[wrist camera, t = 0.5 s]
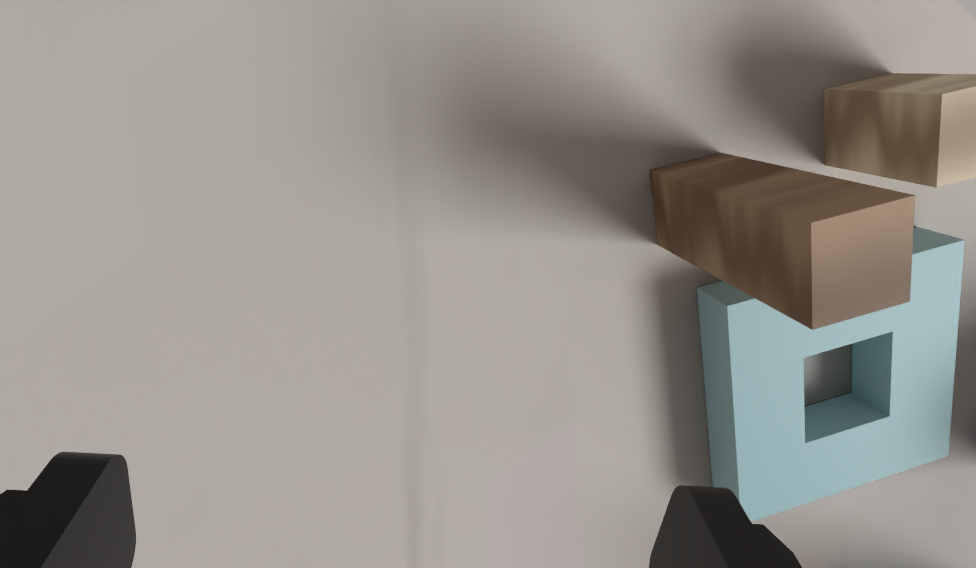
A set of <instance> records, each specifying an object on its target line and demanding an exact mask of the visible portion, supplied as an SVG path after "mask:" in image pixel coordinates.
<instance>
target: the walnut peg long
mask: <svg viewBox="0 0 976 568" xmlns="http://www.w3.org/2000/svg"><path fill="white" fill-rule="evenodd" d="M650 176H651V186H652V196H653V205H654V215H655V225H656V235H657V245H659V246H661V247H663V248H664V249H666V250H668V251H670V252H672V253H673V254H675V255H677V256H679V257H681V258H683V259H684V260H686V261H688V262H690V263H692V264H693V265H695V266H697V267H699V268H701V269H703V270H704V271H706V272H708V273H710V274H712V275H713V276H715V277H717V278H719V279H721V280H723V281H724V282H726V283H728V284H730V285H732V286H733V287H735V288H737V289H739V290H741V291H743V292H744V293H746V294H748V295H750V296H752V297H753V298H755V299H757V300H759V301H761V302H762V303H764V304H766V305H768V306H770V307H772V308H773V309H775V310H777V311H779V312H781V313H782V314H784V315H786V316H788V317H790V318H792V319H793V320H795V321H797V322H799V323H801V324H802V325H804V326H806V327H808V328H810V329H812V330H814V329H818V328H821V327H825V326H828V325H831V324H835V323H838V322H842V321H845V320H849V319H852V318H855V317H859V316H862V315H866V314H869V313H873V312H876V311H879V310H883V309H886V308H890V307H893V306H897V305H900V304H904V303H907V302H910V292H911V271H912V249H913V227H914V205H915V195H911V194H906V193H902V192H897V191H893V190H888V189H884V188H879V187H874V186H870V185H865V184H861V183H856V182H852V181H847V180H843V179H838V178H834V177H829V176H824V175H820V174H815V173H811V172H806V171H802V170H797V169H793V168H788V167H783V166H779V165H774V164H770V163H765V162H761V161H756V160H752V159H747V158H742V157H738V156H733V155H729V154H724V153H720V154H715V155H711V156H707V157H703V158H699V159H695V160H691V161H687V162H682V163H678V164H674V165H670V166H666V167H662V168H658V169H654V170H650Z"/></svg>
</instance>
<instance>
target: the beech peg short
mask: <svg viewBox="0 0 976 568" xmlns="http://www.w3.org/2000/svg"><path fill="white" fill-rule="evenodd" d="M825 165H827V166H832V167H837V168H842V169H847V170H852V171H857V172H862V173H867V174H872V175H877V176H882V177H887V178H892V179H897V180H902V181H906V182H911V183H916V184H921V185H926V186H931V187H936V188H937V187H940V186H944V185H948V184H952V183H956V182H959V181H963V180H967V179H971V178H975V177H976V74H900V73H892V74H887V75H883V76H879V77H874V78H870V79H866V80H862V81H857V82H853V83H849V84H844V85H840V86H836V87H831V88H827V89H825Z"/></svg>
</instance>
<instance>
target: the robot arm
mask: <svg viewBox="0 0 976 568" xmlns="http://www.w3.org/2000/svg"><path fill="white" fill-rule="evenodd" d="M135 545H136V531H135V523H134V515H133V507H132V499H131V492H130V484H129V476H128V468H127V463H126V460H125V458H124V457H123V456H122V455H115V454H96V453H77V452H60V453H58V454H57V455H55V456H54V457H53V458H52V459H51V460H50V462H49V463H48V464H47V466H46V467H45V468H44V469H43V471H42V472H41V473H40V475H39V476H38V477H37V479H36V480H35V481H34V483H33V484H32V485H31V486H30V488H29V489H28V490H27V491H23V490H6V491H5V492H3V493H2V494H0V568H131V566H132V562H133V558H134V553H135ZM649 568H802V567H801V565H800V563H799V562H798V560H797V559H796V557H795V555H794V554H793V552H792V551H791V550H789V549H788V548H787V547H786V546H785V545H784V544H783V543H782V542H781V541H780V540H779V539H778V538H777V537H776V536H775V535H774V534H773V533H772V532H770V531H769V530H768V529H767V528H766V527H765V526H764V525H761V524H752V523H751V521H750V520H749V518H748V516H747V514H746V513H745V511H744V509H743V508H742V506H741V504H740V502H739V501H738V499H737V497H736V496H735V494H734V493H733V492H732V491H731V490H730V489H728V488H724V487H704V486H685V485H680V486H678V487H676V488H675V490H674V491H673V493H672V495H671V498H670V501H669V504H668V507H667V510H666V513H665V515H664V518H663V521H662V524H661V527H660V530H659V533H658V536H657V538H656V541H655V544H654V547H653V550H652V553H651V557H650V563H649Z"/></svg>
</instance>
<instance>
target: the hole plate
mask: <svg viewBox="0 0 976 568" xmlns="http://www.w3.org/2000/svg"><path fill="white" fill-rule="evenodd" d="M964 241H965V240H963V239H959V238H956V237H952V236H948V235H945V234H941V233H937V232H934V231H930V230H926V229H923V228H919V227H917V228H913V249H912V271H911V292H910V302H907V303H904V304H900V305H897V306H893V307H890V308H886V309H883V310H879V311H876V312H873V313H869V314H866V315H862V316H859V317H855V318H852V319H849V320H845V321H842V322H838V323H835V324H831V325H828V326H825V327H821V328H818V329H814V330H812V329H810V328H808V327H806V326H804V325H802V324H801V323H799V322H797V321H795V320H793V319H792V318H790V317H788V316H786V315H784V314H782V313H781V312H779V311H777V310H775V309H773V308H772V307H770V306H768V305H766V304H764V303H762V302H761V301H759V300H757V299H755V298H753V297H752V296H750V295H748V294H746V293H744V292H743V291H741V290H739V289H737V288H735V287H733V286H732V285H730V284H728V283H726V282H724V281H723V280H722V281H719V282H715V283H711V284H708V285H704V286H700V287H697V299H698V311H699V324H700V336H701V348H702V361H703V373H704V386H705V398H706V410H707V423H708V435H709V448H710V460H711V472H712V485H713V487H724V488H728V489H730V490H731V491H732V492H733V493H734V494H735V496H736V497H737V499H738V501H739V502H740V504H741V506H742V508H743V509H744V511H745V513H746V514H747V516H748V518H749V520H750V521H754V520H757V519H760V518H763V517H766V516H770V515H773V514H776V513H779V512H782V511H785V510H788V509H791V508H794V507H797V506H800V505H803V504H806V503H809V502H812V501H815V500H818V499H821V498H824V497H827V496H830V495H833V494H836V493H839V492H842V491H845V490H848V489H851V488H854V487H857V486H860V485H863V484H866V483H869V482H872V481H875V480H878V479H881V478H884V477H887V476H890V475H893V474H896V473H899V472H902V471H905V470H908V469H911V468H914V467H917V466H920V465H923V464H926V463H929V462H932V461H935V460H938V459H941V458H944V457H947V456H948V454H949V441H950V427H951V414H952V401H953V387H954V374H955V361H956V347H957V334H958V321H959V308H960V294H961V281H962V268H963V254H964ZM849 344H852V392H851V393H848V394H844V395H841V396H838V397H835V398H831V399H828V400H825V401H822V402H819V403H815V404H812V405H809V406H806V407H804V358H805V357H808V356H812V355H815V354H819V353H822V352H825V351H829V350H832V349H835V348H839V347H842V346H846V345H849Z"/></svg>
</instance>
